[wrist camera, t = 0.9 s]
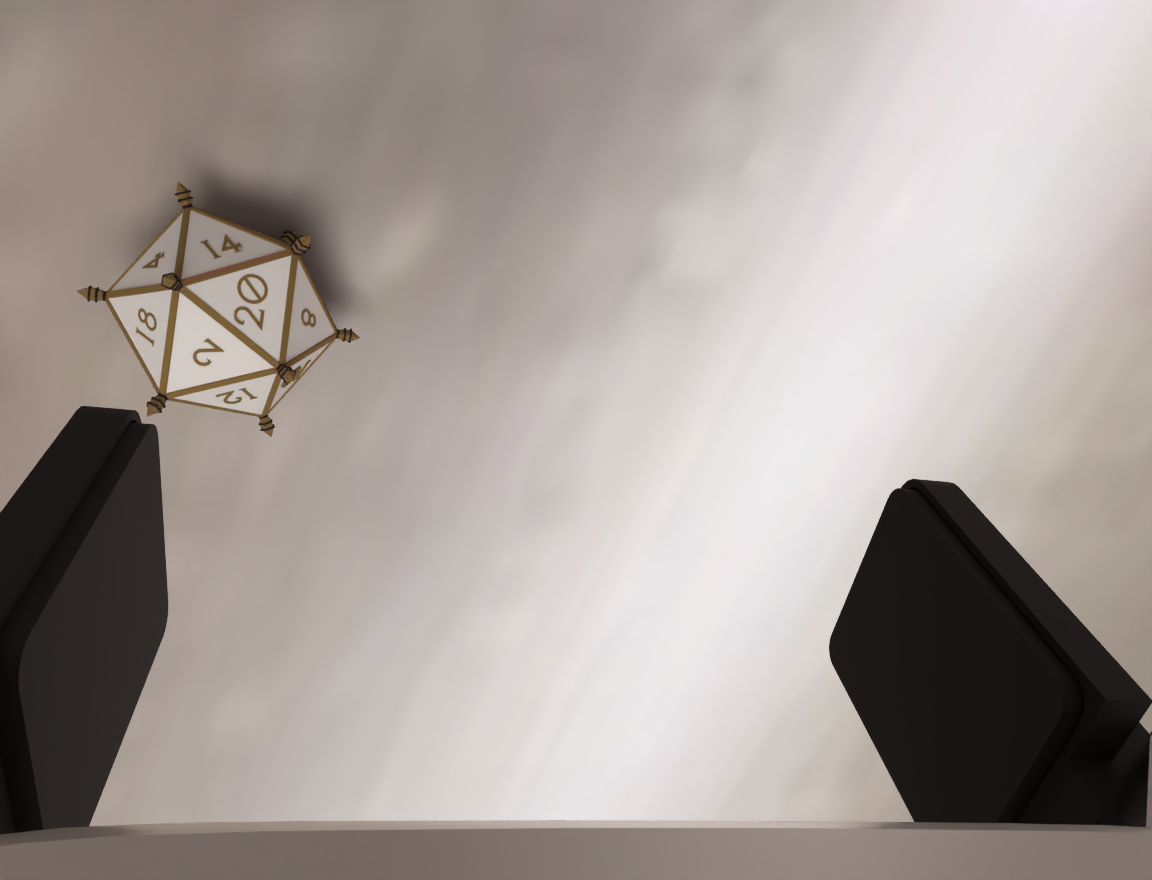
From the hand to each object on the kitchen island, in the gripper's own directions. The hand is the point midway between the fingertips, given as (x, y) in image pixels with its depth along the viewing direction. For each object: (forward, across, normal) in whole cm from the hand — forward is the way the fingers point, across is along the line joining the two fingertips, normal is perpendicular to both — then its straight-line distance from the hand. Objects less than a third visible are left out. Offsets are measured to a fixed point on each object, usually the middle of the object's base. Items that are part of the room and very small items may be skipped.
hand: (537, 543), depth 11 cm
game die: (+28, +8, +8) cm, 30 cm away
